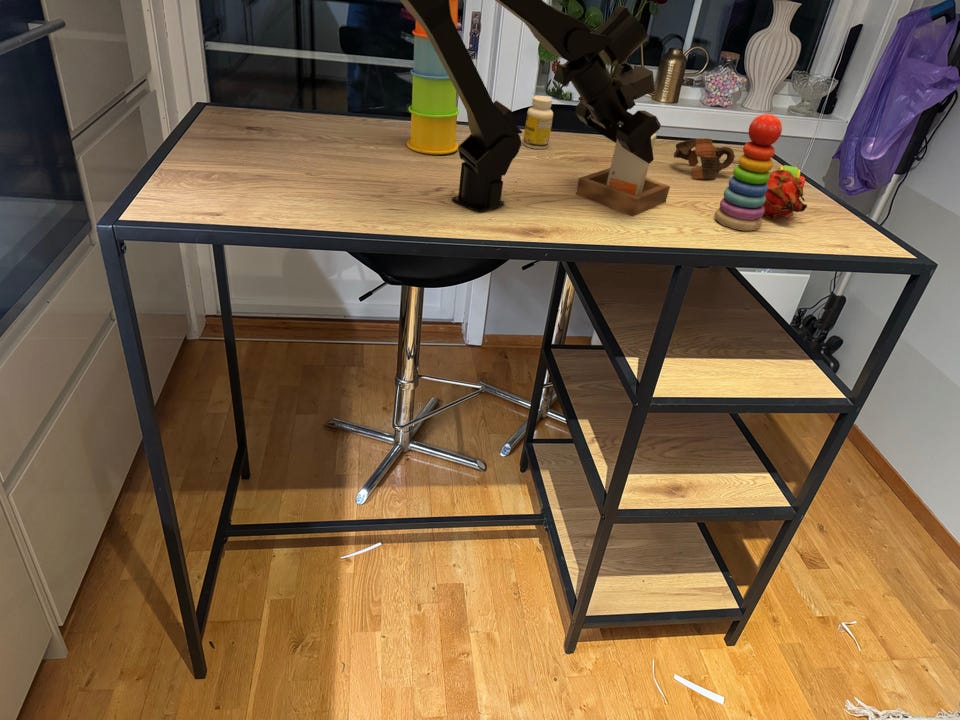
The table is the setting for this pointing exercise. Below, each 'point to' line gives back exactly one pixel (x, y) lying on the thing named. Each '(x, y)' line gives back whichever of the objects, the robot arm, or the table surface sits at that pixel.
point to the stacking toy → (750, 177)
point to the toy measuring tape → (794, 173)
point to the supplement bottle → (538, 123)
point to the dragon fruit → (783, 195)
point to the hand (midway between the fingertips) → (636, 152)
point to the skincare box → (628, 170)
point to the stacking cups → (432, 98)
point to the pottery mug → (704, 157)
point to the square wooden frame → (621, 193)
